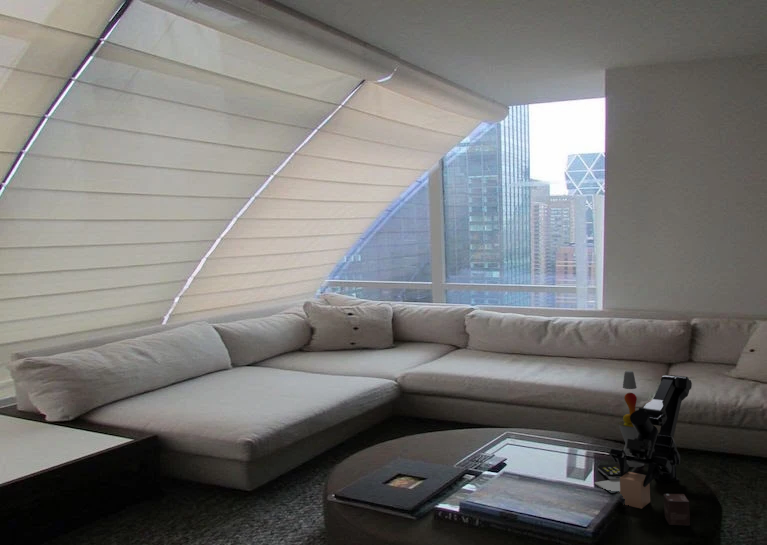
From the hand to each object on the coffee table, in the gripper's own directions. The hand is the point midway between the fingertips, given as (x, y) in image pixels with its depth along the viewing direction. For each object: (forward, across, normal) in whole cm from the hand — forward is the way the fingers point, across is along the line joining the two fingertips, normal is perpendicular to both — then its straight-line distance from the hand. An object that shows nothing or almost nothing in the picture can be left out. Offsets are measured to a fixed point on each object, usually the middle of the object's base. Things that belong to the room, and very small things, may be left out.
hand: (632, 483), depth 210 cm
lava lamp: (-21, -16, +30) cm, 40 cm away
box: (+8, +15, +2) cm, 17 cm away
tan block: (+4, 0, +6) cm, 7 cm away
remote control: (-10, -17, +19) cm, 27 cm away
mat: (-3, -11, +12) cm, 16 cm away
